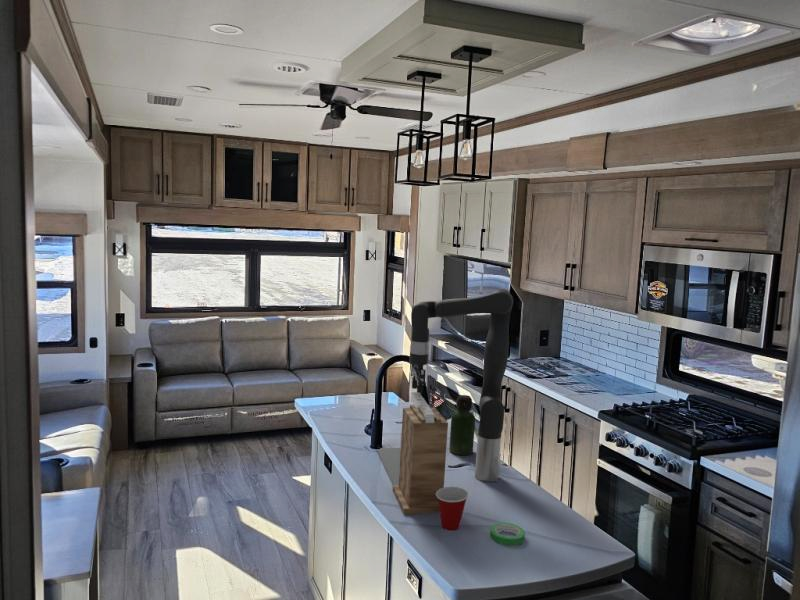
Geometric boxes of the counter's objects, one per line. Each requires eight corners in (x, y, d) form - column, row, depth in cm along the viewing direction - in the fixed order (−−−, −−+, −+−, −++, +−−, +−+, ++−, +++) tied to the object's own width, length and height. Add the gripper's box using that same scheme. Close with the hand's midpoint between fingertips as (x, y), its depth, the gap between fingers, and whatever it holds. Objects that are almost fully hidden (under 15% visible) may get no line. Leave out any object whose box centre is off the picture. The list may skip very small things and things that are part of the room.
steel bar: (411, 399, 253) (411, 392, 253) (419, 400, 254) (419, 392, 253) (425, 422, 226) (425, 414, 225) (433, 423, 226) (434, 414, 226)
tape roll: (501, 548, 208) (502, 540, 208) (483, 532, 218) (484, 525, 218) (531, 543, 212) (531, 535, 212) (512, 528, 222) (512, 520, 222)
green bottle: (466, 447, 298) (470, 393, 295) (476, 455, 289) (480, 399, 286) (445, 448, 295) (449, 393, 292) (454, 456, 285) (458, 400, 282)
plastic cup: (427, 521, 223) (430, 487, 221) (456, 517, 227) (458, 484, 226) (442, 536, 213) (444, 501, 211) (471, 532, 217) (474, 497, 216)
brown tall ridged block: (392, 490, 247) (397, 403, 243) (433, 489, 250) (439, 403, 246) (403, 514, 227) (409, 420, 223) (448, 512, 231) (454, 420, 227)
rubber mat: (375, 449, 289) (376, 448, 289) (407, 448, 292) (407, 447, 292) (394, 489, 248) (394, 487, 248) (430, 488, 251) (430, 486, 251)
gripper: (432, 355, 259) (430, 396, 261) (424, 348, 273) (421, 386, 275) (414, 355, 257) (412, 396, 260) (406, 348, 271) (404, 386, 273)
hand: (417, 391), depth 267 cm, fingers open, 8 cm apart
